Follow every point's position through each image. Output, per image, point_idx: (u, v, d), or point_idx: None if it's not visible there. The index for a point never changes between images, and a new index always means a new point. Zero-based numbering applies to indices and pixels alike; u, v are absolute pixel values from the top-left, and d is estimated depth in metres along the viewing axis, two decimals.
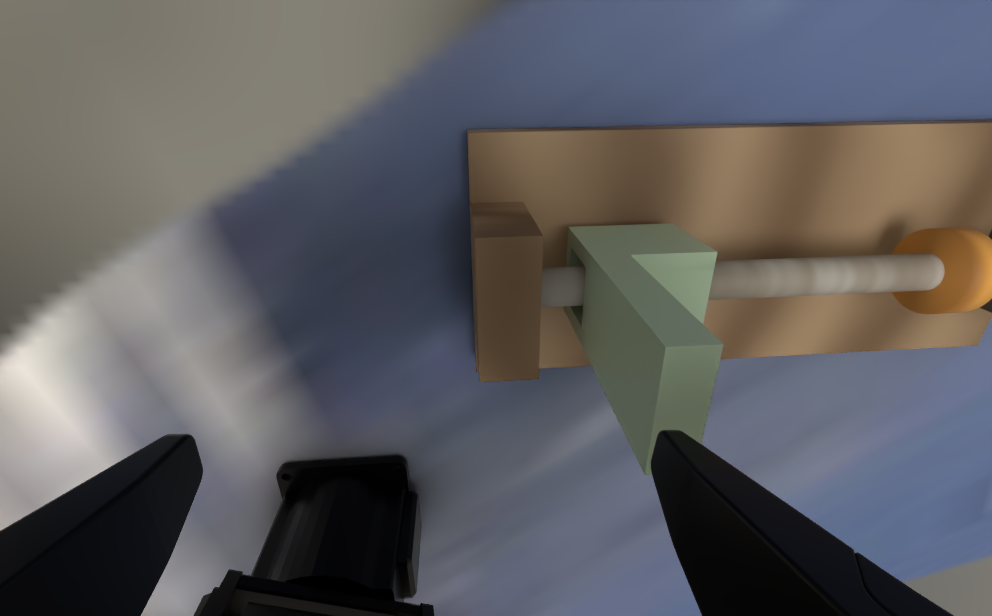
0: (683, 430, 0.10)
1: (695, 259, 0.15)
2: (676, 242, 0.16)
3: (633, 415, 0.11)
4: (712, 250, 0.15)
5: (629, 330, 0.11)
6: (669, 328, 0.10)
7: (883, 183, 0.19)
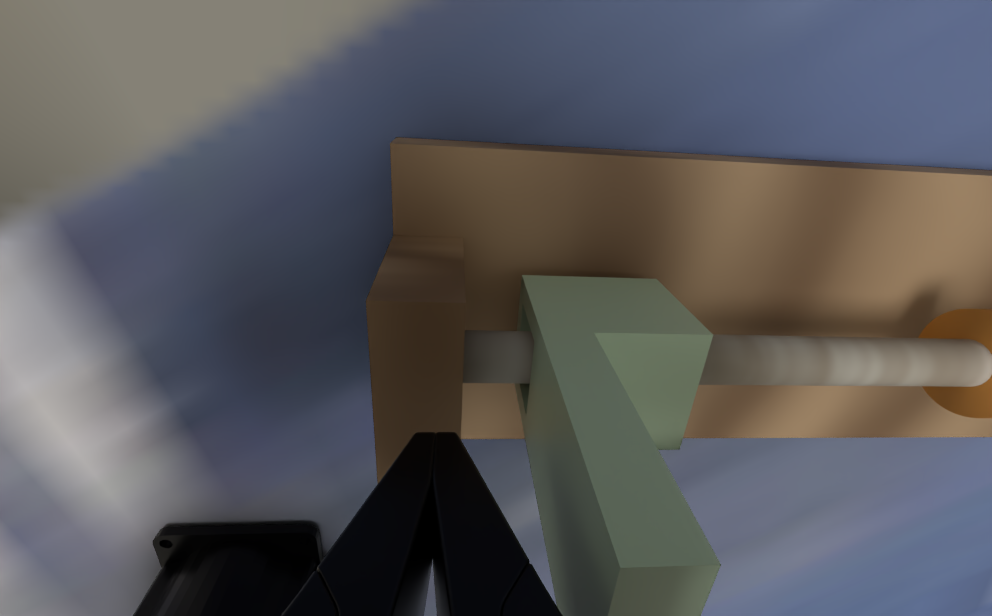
0: None
1: (682, 343, 0.11)
2: (659, 313, 0.12)
3: (571, 612, 0.07)
4: (706, 332, 0.11)
5: (574, 479, 0.07)
6: (632, 511, 0.06)
7: (918, 244, 0.15)
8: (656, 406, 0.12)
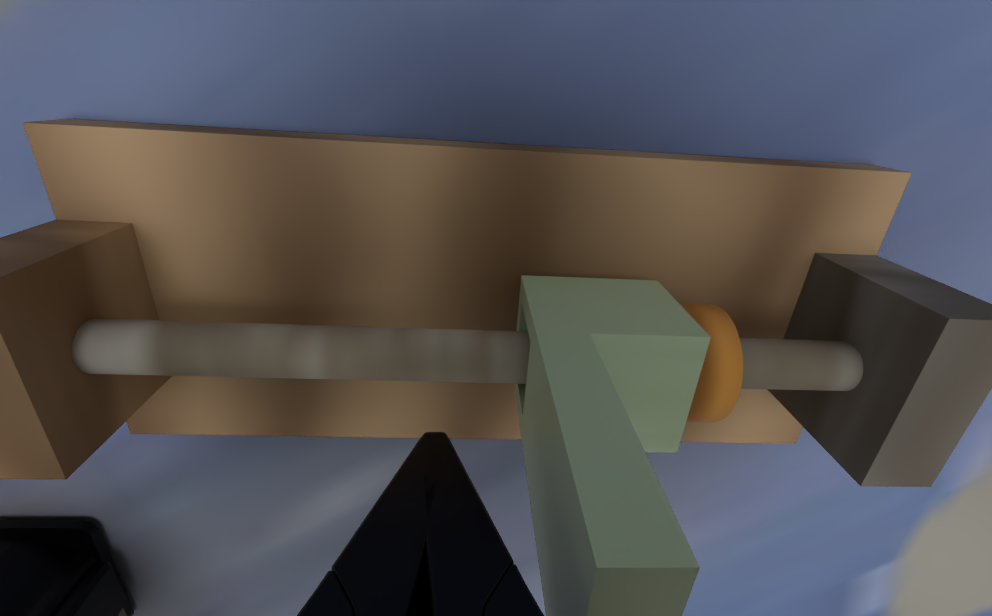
0: None
1: (679, 345, 0.11)
2: (657, 315, 0.12)
3: (556, 611, 0.07)
4: (703, 334, 0.11)
5: (560, 479, 0.07)
6: (613, 512, 0.06)
7: (638, 234, 0.14)
8: (653, 408, 0.11)
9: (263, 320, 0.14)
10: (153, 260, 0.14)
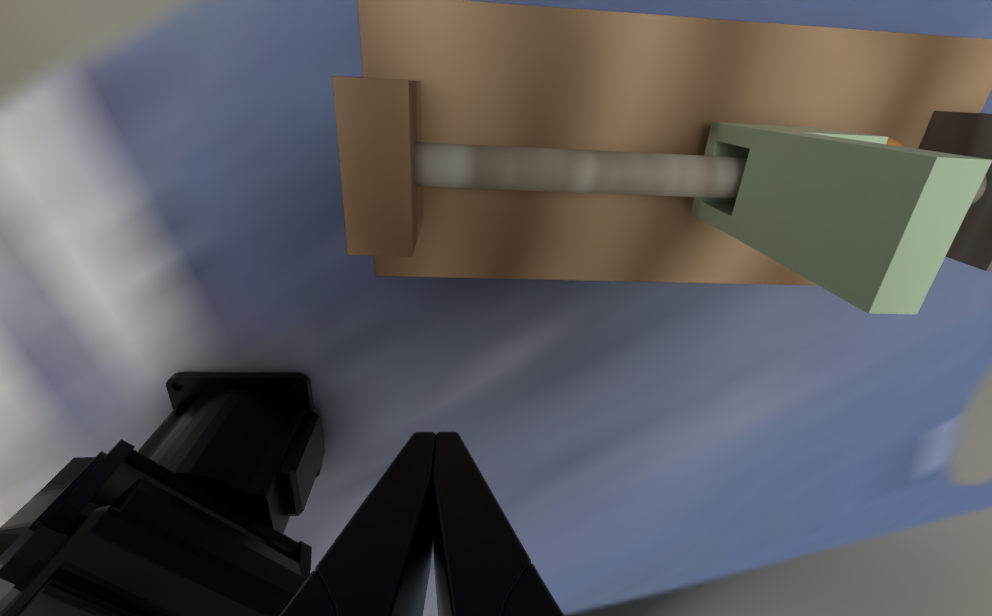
0: (921, 262, 0.10)
1: None
2: (838, 132, 0.15)
3: (848, 260, 0.11)
4: (882, 136, 0.15)
5: (849, 174, 0.11)
6: (921, 152, 0.10)
7: (803, 93, 0.18)
8: None
9: None
10: (429, 114, 0.17)
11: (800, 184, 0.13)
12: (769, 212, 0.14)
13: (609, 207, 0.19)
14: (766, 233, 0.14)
